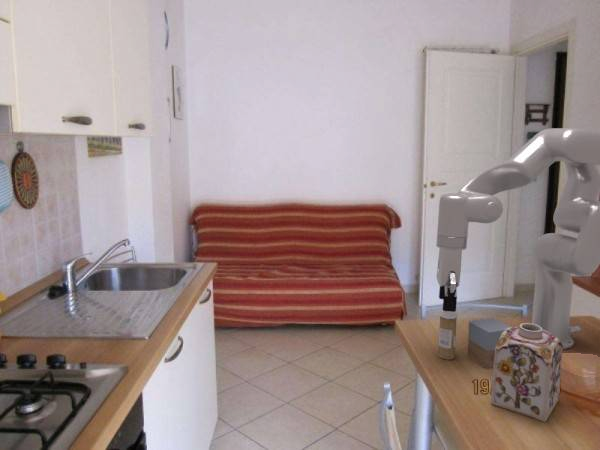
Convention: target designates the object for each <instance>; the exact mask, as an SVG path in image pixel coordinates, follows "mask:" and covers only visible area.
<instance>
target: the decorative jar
mask: <svg viewBox="0 0 600 450" xmlns="http://www.w3.org/2000/svg"><path fill="white" fill-rule="evenodd" d="M563 350H564V349H563V345H562V343H561V342H560V340H559V339H558V338H557V337H555V336H554V335H553V334H551V333H550V332H548V331H545V330H543V329H542V327H540V326H538V325H536V324H532V322H531V323H530V322H524V323H520V324H519V325H518V326H511V327H509V328H506V329H505V330H504V331H503V332H502V334H501V336H500V339H499V340H498V343H497V345H496V347H495V357H494V367H492V368H493V370H492V379H491V380H492V381H491V382H492V383H491V390H490V391H491V395H490V396H491V397H490V402H491V404H492V405H493V406H495V407H500V408H502V409H506V410H509V411H512V412H515V413H516V414H517V413H518V414H520V415H524V416H526V417H528V418H529V417H530V418H533V419H536V420H537V421H541V422H544V423H546V422H547V420H548V419H549V417H550V415H551V414H552V412H553V410H554V408H555V407H556V405H557V403H558V401H559V399H560V398H559V397H560V387H561V376H562V366H563V365H562V364H563V363H562V362H563Z"/></svg>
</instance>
